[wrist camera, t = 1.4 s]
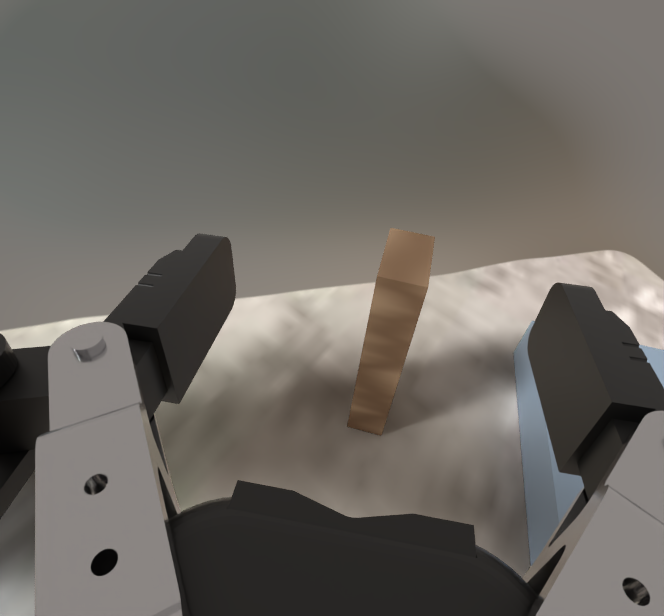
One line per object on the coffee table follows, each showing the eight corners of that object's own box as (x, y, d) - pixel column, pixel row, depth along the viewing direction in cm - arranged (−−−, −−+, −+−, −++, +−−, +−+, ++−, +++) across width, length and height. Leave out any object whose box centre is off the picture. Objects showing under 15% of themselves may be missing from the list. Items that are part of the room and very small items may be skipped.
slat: (347, 426, 30) (377, 276, 21) (359, 377, 34) (390, 227, 24) (381, 435, 30) (428, 287, 20) (390, 385, 33) (434, 236, 24)
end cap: (532, 585, 24) (564, 564, 21) (513, 352, 37) (532, 320, 34) (763, 655, 23) (831, 642, 20) (660, 387, 35) (692, 356, 33)
